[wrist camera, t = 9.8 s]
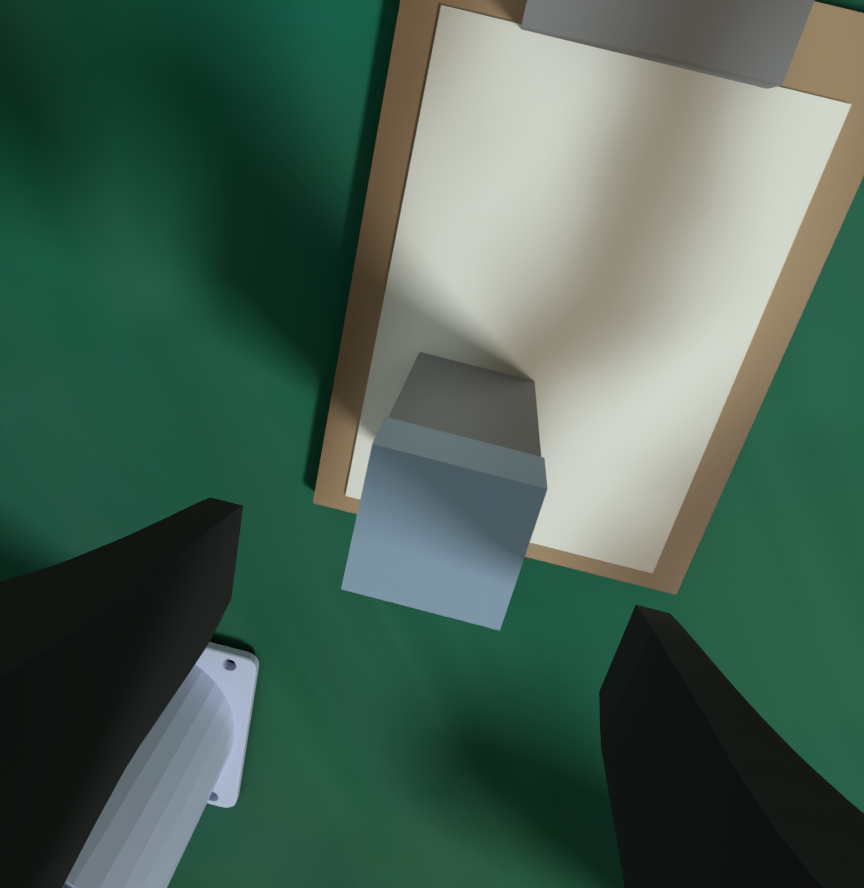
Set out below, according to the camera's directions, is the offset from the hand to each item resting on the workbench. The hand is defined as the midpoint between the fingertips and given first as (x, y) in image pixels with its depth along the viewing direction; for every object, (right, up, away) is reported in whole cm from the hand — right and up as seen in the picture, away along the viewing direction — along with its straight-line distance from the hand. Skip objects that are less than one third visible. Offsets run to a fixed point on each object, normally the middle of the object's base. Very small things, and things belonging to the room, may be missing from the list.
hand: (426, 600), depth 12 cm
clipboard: (+4, +7, +7) cm, 11 cm away
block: (+1, +3, +8) cm, 9 cm away
